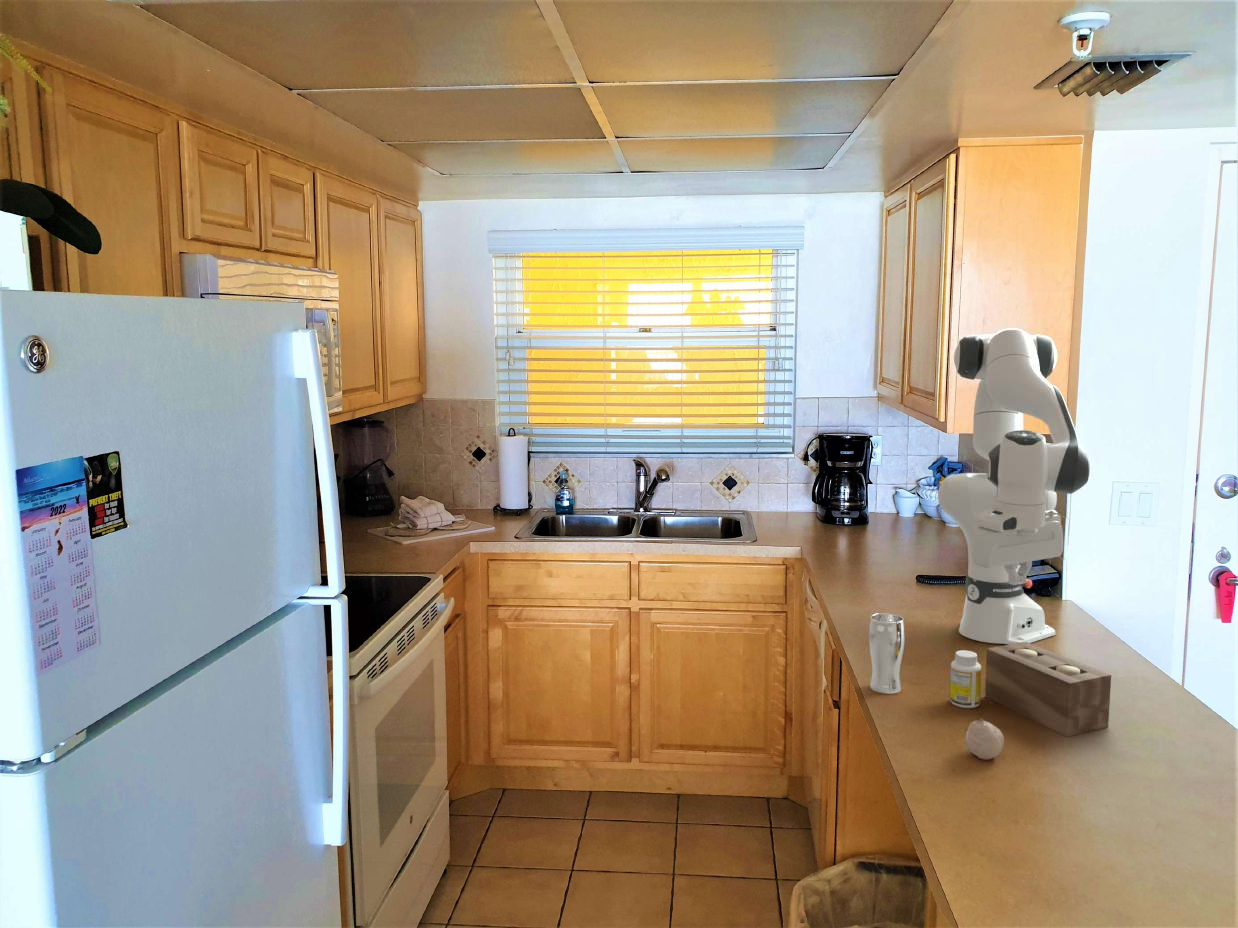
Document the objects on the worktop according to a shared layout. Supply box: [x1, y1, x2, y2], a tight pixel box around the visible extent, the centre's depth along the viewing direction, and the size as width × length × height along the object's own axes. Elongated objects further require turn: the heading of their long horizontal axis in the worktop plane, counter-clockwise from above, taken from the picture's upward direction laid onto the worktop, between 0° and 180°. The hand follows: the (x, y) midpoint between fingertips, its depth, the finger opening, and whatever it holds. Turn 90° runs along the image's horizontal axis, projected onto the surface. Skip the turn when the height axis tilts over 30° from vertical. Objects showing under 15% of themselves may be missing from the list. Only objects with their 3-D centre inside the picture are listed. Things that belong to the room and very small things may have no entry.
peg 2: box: [1056, 665, 1080, 676], centre depth 170 cm, size 4×4×9 cm
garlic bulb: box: [965, 718, 1005, 760], centre depth 157 cm, size 7×6×8 cm
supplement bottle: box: [949, 649, 982, 709], centre depth 179 cm, size 6×6×10 cm
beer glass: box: [868, 612, 906, 695], centre depth 187 cm, size 7×7×15 cm
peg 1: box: [1015, 649, 1037, 659], centre depth 179 cm, size 4×4×9 cm
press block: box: [984, 642, 1112, 737], centre depth 175 cm, size 10×20×10 cm, turn 22°
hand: (1017, 583), depth 181 cm, fingers closed
